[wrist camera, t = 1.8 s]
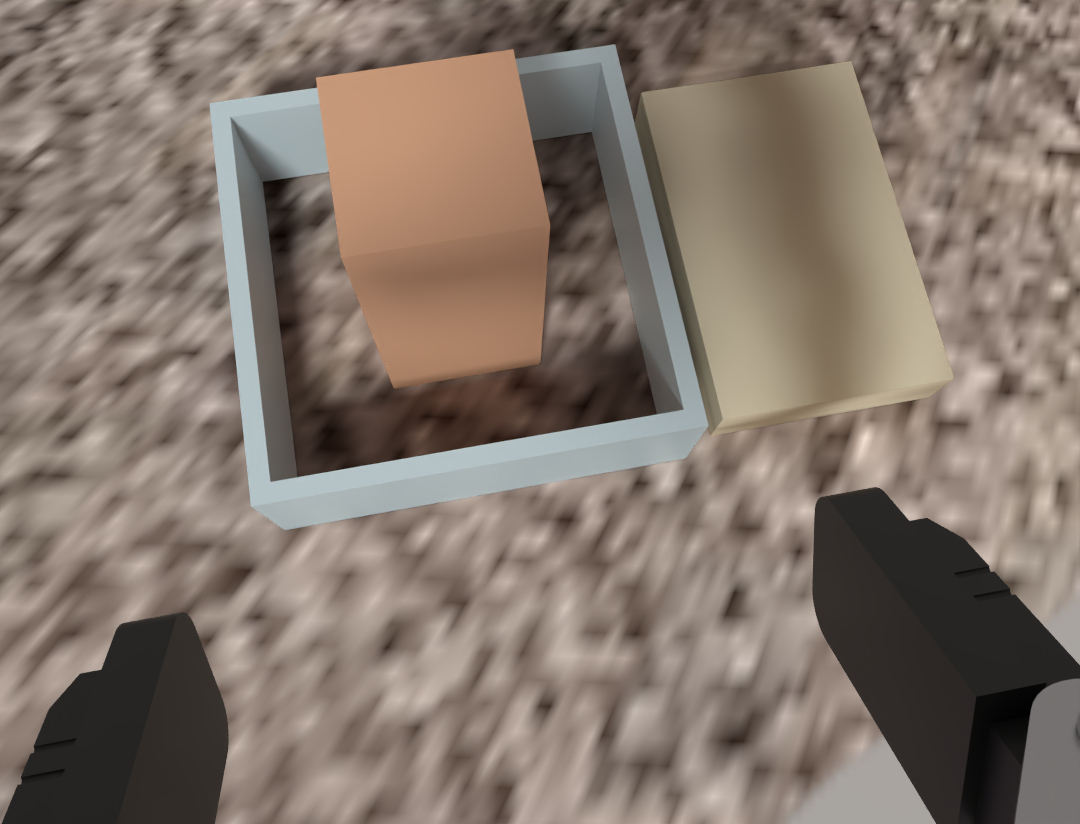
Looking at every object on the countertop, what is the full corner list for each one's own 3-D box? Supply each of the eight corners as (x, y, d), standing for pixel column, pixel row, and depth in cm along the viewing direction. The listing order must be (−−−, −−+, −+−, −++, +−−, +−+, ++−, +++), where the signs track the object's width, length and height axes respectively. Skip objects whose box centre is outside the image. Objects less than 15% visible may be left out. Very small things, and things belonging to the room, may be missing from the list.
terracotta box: (393, 389, 32) (341, 257, 22) (373, 255, 33) (315, 77, 24) (540, 364, 32) (550, 224, 23) (514, 232, 34) (513, 49, 24)
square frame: (284, 530, 31) (250, 506, 27) (244, 169, 34) (209, 103, 30) (685, 458, 31) (708, 425, 28) (604, 115, 35) (615, 44, 31)
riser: (710, 436, 32) (723, 419, 30) (634, 125, 35) (641, 92, 33) (928, 397, 32) (954, 378, 30) (833, 95, 36) (851, 61, 34)
